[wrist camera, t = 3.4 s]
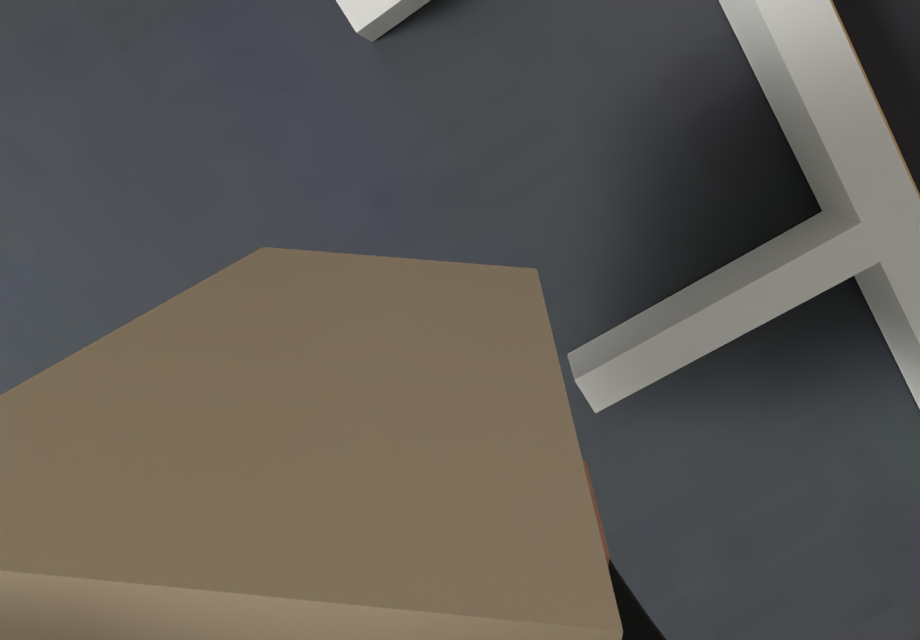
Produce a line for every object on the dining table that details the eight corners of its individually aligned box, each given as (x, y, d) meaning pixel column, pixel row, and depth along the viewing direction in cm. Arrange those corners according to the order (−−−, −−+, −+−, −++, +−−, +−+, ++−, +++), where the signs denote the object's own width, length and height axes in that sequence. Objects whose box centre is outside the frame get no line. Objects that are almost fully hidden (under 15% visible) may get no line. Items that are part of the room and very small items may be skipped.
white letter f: (1014, 471, 18) (1069, 510, 16) (721, 602, 19) (743, 649, 18) (681, -246, 13) (708, -299, 12) (348, 2, 15) (327, -13, 13)
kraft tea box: (506, 658, 12) (517, 1392, 5) (271, 634, 12) (-26, 1315, 5) (550, 269, 10) (668, 634, 3) (262, 247, 10) (-265, 542, 3)
